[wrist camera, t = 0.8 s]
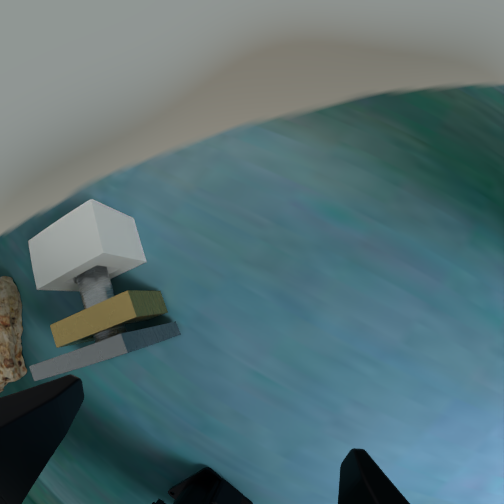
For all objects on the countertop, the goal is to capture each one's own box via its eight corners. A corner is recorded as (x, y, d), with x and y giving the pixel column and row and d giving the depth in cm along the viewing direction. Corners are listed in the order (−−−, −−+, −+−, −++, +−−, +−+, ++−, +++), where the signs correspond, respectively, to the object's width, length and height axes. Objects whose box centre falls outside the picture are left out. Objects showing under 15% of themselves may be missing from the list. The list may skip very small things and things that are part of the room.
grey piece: (180, 334, 26) (127, 352, 17) (96, 362, 26) (34, 381, 18) (146, 234, 27) (86, 211, 18) (69, 273, 28) (5, 266, 19)
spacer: (167, 312, 26) (136, 316, 21) (94, 340, 27) (56, 347, 21) (160, 290, 26) (127, 290, 21) (87, 321, 27) (49, 325, 22)
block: (146, 261, 27) (103, 252, 20) (84, 291, 28) (36, 289, 21) (133, 218, 28) (91, 198, 21) (74, 250, 29) (28, 240, 22)
